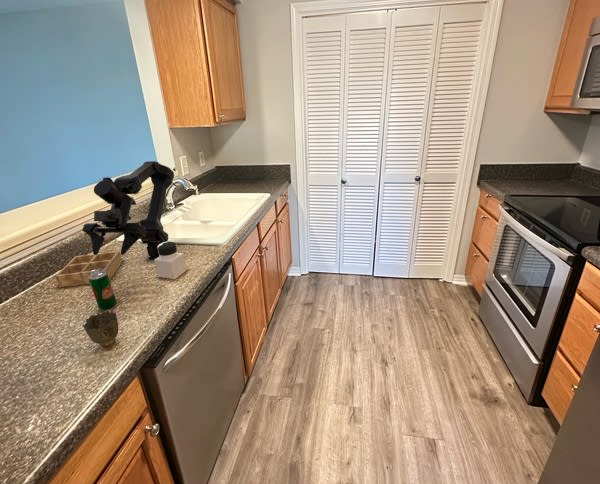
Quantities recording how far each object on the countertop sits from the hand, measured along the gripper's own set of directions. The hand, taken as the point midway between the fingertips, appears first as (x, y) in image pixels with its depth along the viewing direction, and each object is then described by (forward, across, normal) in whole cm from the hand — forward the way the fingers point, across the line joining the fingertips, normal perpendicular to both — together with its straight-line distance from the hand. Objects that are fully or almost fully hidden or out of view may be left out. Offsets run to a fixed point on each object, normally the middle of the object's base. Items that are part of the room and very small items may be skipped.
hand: (108, 254), depth 102 cm
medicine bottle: (+1, +13, +18) cm, 23 cm away
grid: (+1, -18, +18) cm, 26 cm away
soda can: (+16, +1, +4) cm, 16 cm away
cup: (+27, +12, -7) cm, 31 cm away
